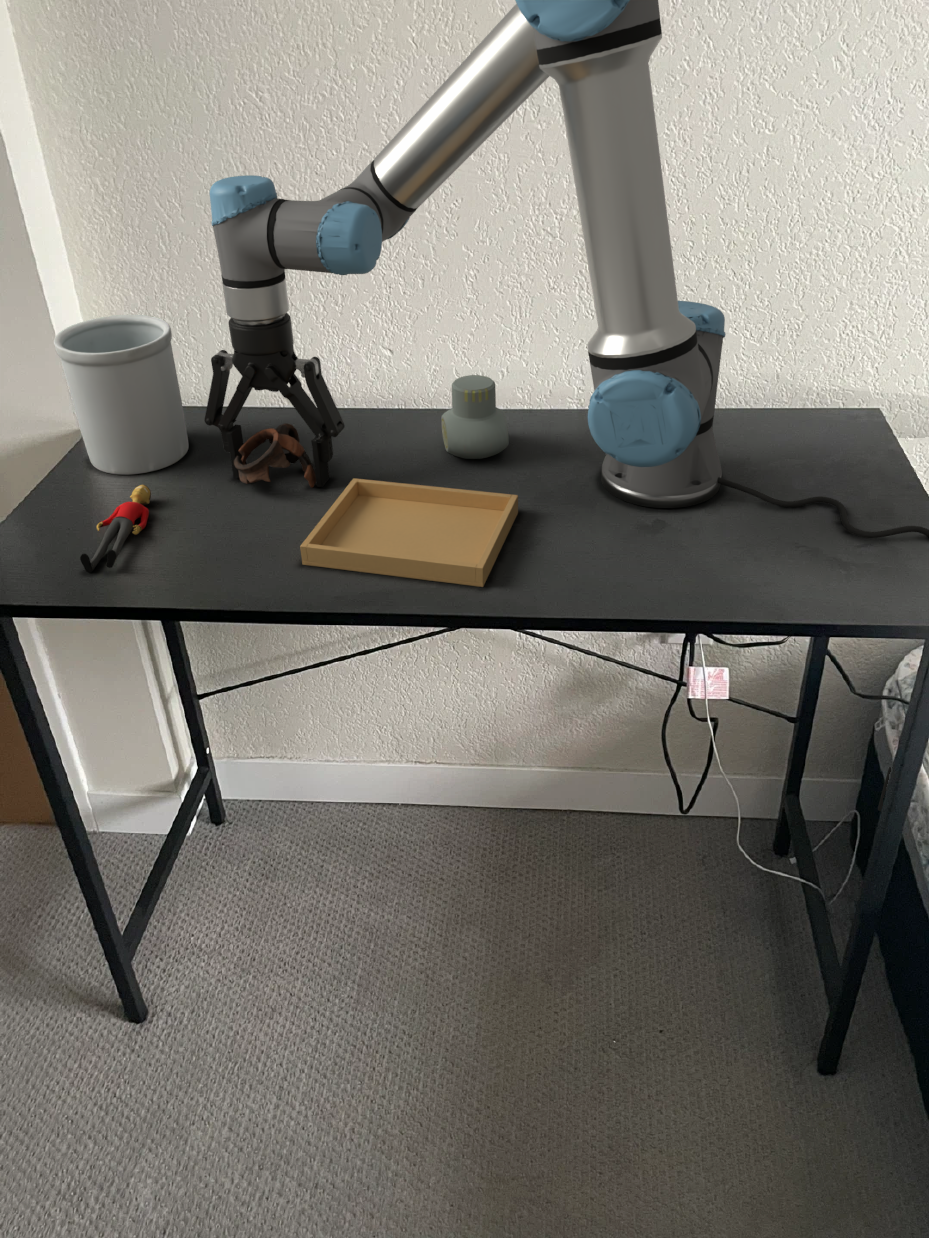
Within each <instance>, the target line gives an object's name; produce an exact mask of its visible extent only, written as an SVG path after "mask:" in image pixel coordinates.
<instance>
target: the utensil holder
mask: <svg viewBox="0 0 929 1238" xmlns="http://www.w3.org/2000/svg"><path fill="white" fill-rule="evenodd" d="M172 338H173V334H172V329H171V325H170V324H169V323H168V321H166V320H164V319H162V318H159V317H157V316H152V315H144V314H117V315H107V316H102V317H96V318H92V319H87V320H83V321H80V322H77V323H75V324H72V325H69V326H68V327H65V328H64V329H62V330H60V331H59V332H58V333H57V334H56V335H55V336H54V338H53V346H54V350H55V352H56V355H57V356H58V357H59V359H60V365H61V367H62V371H63V375H64V378H65V381H66V386H67V388H68V391H69V392H68V393H69V395H70V398H71V403H72V406H73V409H74V413H75V416H76V421H77V423H78V428H79V430H80V433H81V437H82V440H83V443H84V446H85V450H86V452H87V456H88V458H89V461H90V463H91V465H92V466H93V467H94V468H95V469H97V470H99V471H100V472H104V473H107V474H111V475H123V476H124V475H125V476H127V475H129V476H130V475H138V474H139V475H140V474H146V473H150V472H155V471H158V470H161V469H164V468H167V467H169V466H170V467H171V466H172V465H173V464H176V463H177V462H178V461H180V460H181V459H183V458H184V457H185V455H186V454H187V453H188V450H189V438H188V437H189V436H188V430H187V423H186V418H185V412H184V405H183V400H182V395H181V390H180V386H179V385H180V384H179V378H178V374H177V373H178V372H177V367H176V363H175V357H174V351H173V346H172Z"/></svg>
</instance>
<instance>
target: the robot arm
mask: <svg viewBox="0 0 929 1238" xmlns="http://www.w3.org/2000/svg"><path fill="white" fill-rule="evenodd" d="M514 1H515V4H514V6H513V7H512V8H511V9H510V10H509V11H508V12H507V13H506V14H505V15H504V16H503V17H502V18H501V20H500V21H498V23H497V24H496V25H495V26H494V28H492V29H491V31H490V32H488V33H487V35H486V36H485V37H484V38H483V39H482V41H480V43H478V45H476V47H475V48H474V49H473V50H472V51H471V52H470V54H469V55H467V57H466V58H465V59H464V60H462V62H461V63H460V64H459V66H458V67H457V68H456V69H455V70H454V71H453V72H452V73H451V74H450V75H449V77H447V79H445V81H444V82H443V83H442V84H441V85H440V87H438V88H437V90H436V91H435V92H434V93H433V94H432V95H431V96H430V97H429V98H428V100H426V101H425V103H423V104H422V106H421V107H420V108H419V110H418V111H416V113H414V115H412V117H411V118H410V119H409V120H408V121H407V122H406V124H405V125H404V126H403V127H402V128H401V129H400V130H399V131H398V132H397V133H396V134H395V136H394V137H392V139H391V140H390V141H389V142H388V143H387V145H385V146H384V147H383V149H381V151H380V152H379V153H378V154H377V155H375V157H374V159H373V160H372V161H370V163H369V164H368V165H367V166H366V167H365V168H364V170H362V171H361V173H360V174H358V176H357V177H356V178H355V179H354V180H353V181H352V182H351V183H349V184H348V185H346V186H344V187H342V188H340V189H338V190H337V191H335V192H333V193H331V194H329V195H326V196H325V197H323V198H321V199H318V200H293V199H292V200H291V199H284V198H278V193H277V191H276V186H275V183H274V182H273V180H272V179H270V178H269V177H266V176H262V175H255V174H253V175H251V174H249V175H248V174H247V175H236V176H228V177H225V178H221V179H219V180H217V181H215V182H213V184H212V185H211V187H210V188H209V200H210V201H209V202H210V212H211V219H212V220H211V226H212V228H213V229H212V230H213V234H214V240H215V244H216V250H217V256H218V261H219V267H220V272H221V273H220V274H221V281H222V289H223V298H224V305H225V311H226V316H228V317H229V320H228V329H229V336H230V342H231V348H232V349H233V353H228V351H227V350H226V349H221V350H219V351H217V353H215V354H214V355H213V356H212V357H211V358H210V362H211V369H212V378H211V382H210V383H211V384H210V388H209V394H208V400H207V405H206V410H205V414H204V415H205V416H204V423H205V424H206V425H207V426H214V427H216V428H217V429H218V430H219V431H220V436H221V441H222V447H223V450H224V452H225V453H229V457H230V463H231V468H232V474H233V479H240V478H239V470H238V469H237V468H236V467H235V465H234V460H235V458H236V457H237V456H239V457H240V458H242V454H240V453H239V449H240V447H241V446H242V445H243V444H244V443H245V442H244V437H243V431H242V425H241V424H235V423H236V422H237V418H238V417H239V414H240V412H241V411H242V409H243V407H244V405H245V403H246V401H247V400H248V397H249V396H250V394H251V392H252V390H254V391H264V390H267V391H269V392H273V393H278V392H279V393H280V394H281V396H282V397H283V398H285V399H287V400H288V401H289V403H290V404H291V405H292V407H293V409H295V411H296V412H297V413H298V415H299V416H300V417H301V419H302V420H303V421H304V423H305V424H306V425H307V427H308V428H309V429H310V431H311V432H312V434H314V437H313V438H312V440H311V451H312V458H313V467H314V469H315V476H316V483H315V485H316V487H317V488H323V487H324V485H325V484H327V482H328V481H329V480H330V479H331V478H330V469H329V462H330V461H331V460H332V459H333V456H334V450H333V439H332V438H336V437H338V436H339V434H340V433H341V432H342V431H343V430H344V429H345V426H346V425H345V422H344V421H343V420H344V419H343V418H342V416H341V414H340V411H339V409H338V407H337V405H336V403H335V401H334V398H333V396H332V394H331V392H330V390H329V387H328V385H327V383H326V381H325V379H324V377H323V374H322V366H321V360H320V357H318V356H312V357H311V358H310V359H309V358H298V356H297V354H296V352H295V350H294V349H295V347H294V343H295V342H294V335H293V326H292V325H293V324H292V317H291V315H290V314H289V313H288V312H289V310H290V302H289V294H288V285H287V279H286V277H287V275H286V270H293V271H304V272H315V273H323V274H334V275H338V276H347V275H366V274H369V273H370V272H371V271H373V270H374V268H376V266H377V261H378V260H380V259H379V258H380V256H381V252H382V248H383V247H382V246H383V242H385V241H388V240H390V239H392V238H394V237H395V236H396V235H397V234H398V233H399V232H401V231H402V229H404V227H406V226H407V224H408V222H409V221H410V218H411V216H413V214H414V213H416V211H417V210H418V209H419V208H420V207H421V206H422V205H423V204H424V203H425V202H426V200H428V199H429V198H430V197H431V196H432V195H433V194H434V193H435V192H436V191H437V190H438V189H439V188H440V186H442V185H443V184H444V183H445V181H447V180H448V179H449V178H450V177H451V176H452V175H453V174H454V173H455V171H457V170H458V169H459V168H460V167H461V166H462V165H463V164H464V163H465V162H466V161H467V160H468V159H469V158H470V157H471V156H472V154H474V153H475V152H476V150H478V149H479V147H481V146H482V145H483V144H484V143H485V142H486V141H487V140H488V138H490V137H491V136H492V135H493V134H494V133H495V132H496V130H498V129H499V128H500V127H501V126H502V125H503V124H504V122H506V121H507V120H508V119H509V118H510V117H511V115H513V113H515V112H516V111H517V110H518V108H519V107H521V105H523V103H525V102H526V101H527V100H528V99H529V98H530V97H531V96H532V95H533V94H534V93H535V91H537V90H538V88H540V87H541V86H542V85H543V84H544V83H545V82H546V80H548V79H549V78H552V79H553V80H554V81H555V82H556V83H557V85H558V90H559V96H560V101H561V108H562V114H563V119H564V125H565V132H566V138H567V145H568V151H569V156H570V163H571V169H572V174H573V175H572V176H573V180H574V181H573V182H574V187H575V194H576V199H577V206H578V212H579V217H580V224H581V229H582V236H583V242H584V249H585V254H586V261H587V266H588V273H589V279H590V285H591V290H592V297H593V304H594V310H595V316H596V322H597V329H596V331H594V334H593V335H592V336H591V338H590V339H589V341H588V342H587V345H586V346H587V354H588V360H589V364H590V372H591V373H590V374H591V379H592V385H593V392H592V394H591V395H590V398H589V404H588V406H587V408H588V409H587V410H588V411H587V424H588V428H589V432H590V435H591V437H592V438H593V440H594V442H595V443H596V444H597V446H598V447H599V448H600V449H601V450H602V452H604V455H605V456H604V459H603V462H602V464H601V475H600V476H601V477H600V479H601V480H600V481H601V484H602V486H603V488H604V489H605V490H606V491H607V492H608V493H610V494H611V495H612V496H613V497H615V498H617V499H620V500H621V501H624V502H626V503H629V504H633V505H637V506H641V507H646V508H655V509H680V508H687V507H691V506H696V505H699V504H702V503H705V502H707V501H709V500H710V499H711V498H713V497H715V496H716V495H717V493H718V492H719V490H720V488H721V485H723V486H725V487H728V488H731V489H734V490H737V491H739V492H743V493H745V494H748V495H751V496H753V497H755V498H758V499H759V500H761V501H764V502H766V503H769V504H771V505H774V506H778V507H782V508H783V507H784V508H798V507H803V506H804V507H805V506H807V505H812V504H817V503H823V504H828V505H831V506H833V507H835V508H836V509H838V511H839V515H840V521H841V524H842V526H843V528H844V529H846V531H847V532H848V533H850V534H852V535H854V536H856V537H860V538H866V539H879V538H886V537H891V536H896V535H900V534H907V533H919V534H920V535H921V534H922V535H924V536H925V537H927V538H928V539H929V528H927V527H923V526H921V525H904V526H898V527H894V528H890V529H889V528H888V529H884V530H877V531H876V530H875V531H870V530H869V531H868V530H863V529H859V528H857V527H855V526H853V525H852V524H851V523H850V521H849V518H848V512H847V509H846V507H845V506H844V505H845V504H843V503H842V502H841V501H839V500H837V499H835V498H832V497H829V496H821V495H820V496H812V497H806V498H803V499H799V500H782V499H778V498H775V497H772V496H770V495H768V494H765V493H763V492H761V491H759V490H757V489H754V488H751V487H748V486H746V485H743V484H740V483H739V482H734V481H732V480H730V479H729V480H728V479H726V478H723V477H722V475H723V472H722V466H721V461H720V457H719V453H718V448H717V444H716V439H715V435H714V429H713V428H714V427H713V426H714V420H715V419H714V417H715V411H716V410H715V409H716V403H717V402H716V400H717V395H718V394H717V392H718V383H719V377H720V376H719V375H720V369H721V368H720V366H721V360H722V351H723V342H724V338H726V334H727V333H726V332H725V324H726V318H725V314H724V313H723V312H722V311H721V309H719V308H718V307H716V306H713V305H710V304H706V303H703V302H697V301H687V300H679V299H678V292H677V291H678V290H677V286H676V285H677V283H676V276H675V268H674V259H673V252H672V244H671V235H670V226H669V217H668V210H667V202H666V195H665V194H666V193H665V186H664V178H663V169H662V161H661V153H660V145H659V136H658V129H657V120H656V112H655V104H654V97H653V96H654V95H653V88H652V80H651V72H650V59H651V56H652V55H653V53H654V51H655V50H656V49H657V47H658V45H659V43H660V42H661V40H662V39H663V30H662V23H661V21H662V20H661V12H660V4H659V0H514ZM233 367H234V368H235V369H236V370H237V371H238V373H239V374H240V376H241V378H240V380H239V382H238V384H237V385H236V388H235V391H234V394H233V395H232V397H231V398H230V401H229V403H228V405H227V406H226V408H225V410H224V412H223V409H224V404H225V399H226V395H227V390H228V384H229V380H230V373H231V370H232V369H233ZM297 370H298V371H299V372H300V376H301V377H302V378H303V379H304V380H305V385H306V386H307V389H308V391H309V393H310V395H311V397H310V396H309V395H308V393H307V391H305V389H304V387H303V386H302V382H301V380H300V378H299V377H298V376H297V375H296V374H295V373H296V372H297ZM253 388H254V389H253ZM311 398H312V399H313V400H312V399H311ZM245 463H246V464H248V463H247V460H246V461H245ZM890 772H891V766H889V767H888V770H887V773H886V776H885V780H884V782H883V783H884V784H883V787H882V790H881V796H880V798H879V801H878V802H879V803H878V806H877V811H879V812H882V811H881V809H882V806H883V798H884V795H885V791H886V787H887V784H888V780H889V774H890Z"/></svg>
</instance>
